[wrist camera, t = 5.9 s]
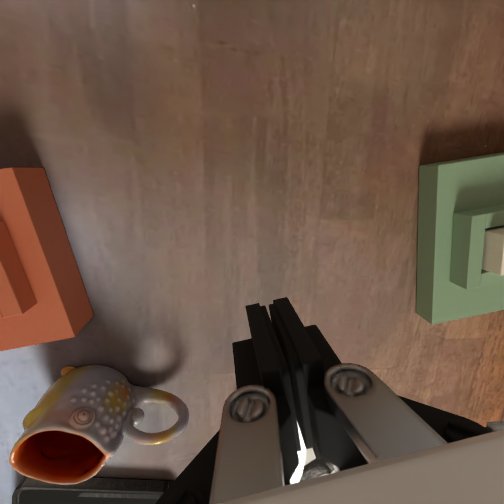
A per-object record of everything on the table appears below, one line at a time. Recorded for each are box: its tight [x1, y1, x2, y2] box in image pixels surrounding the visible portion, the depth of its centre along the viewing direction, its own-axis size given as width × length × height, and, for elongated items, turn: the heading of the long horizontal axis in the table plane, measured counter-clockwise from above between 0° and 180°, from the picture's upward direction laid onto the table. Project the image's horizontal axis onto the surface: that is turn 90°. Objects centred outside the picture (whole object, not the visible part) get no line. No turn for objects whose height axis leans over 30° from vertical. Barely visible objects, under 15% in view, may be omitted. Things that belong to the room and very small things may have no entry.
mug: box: [9, 365, 189, 485], centre depth 23 cm, size 12×7×7 cm, turn 83°
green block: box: [416, 152, 504, 324], centre depth 24 cm, size 14×9×4 cm, turn 8°
